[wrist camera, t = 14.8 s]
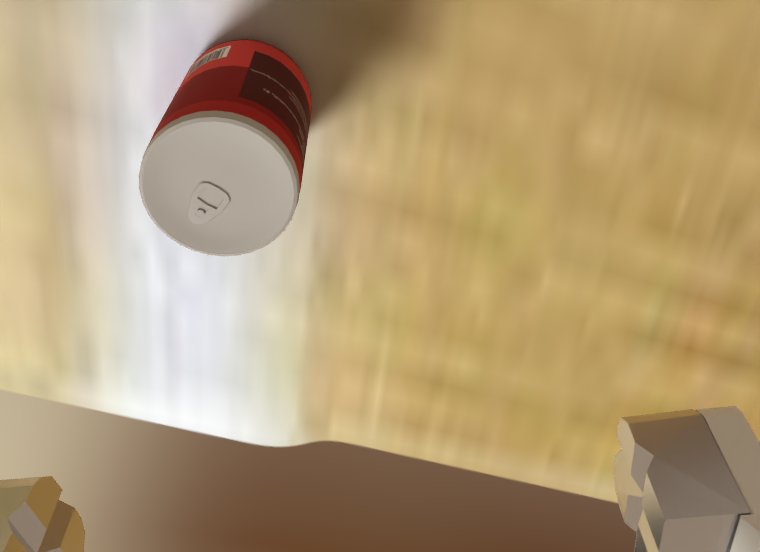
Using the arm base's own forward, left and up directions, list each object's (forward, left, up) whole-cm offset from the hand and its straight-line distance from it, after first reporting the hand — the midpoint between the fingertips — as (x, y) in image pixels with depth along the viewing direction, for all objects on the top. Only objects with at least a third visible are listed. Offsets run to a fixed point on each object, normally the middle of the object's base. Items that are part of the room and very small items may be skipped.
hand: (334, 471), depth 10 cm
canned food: (+8, +8, -34) cm, 36 cm away
